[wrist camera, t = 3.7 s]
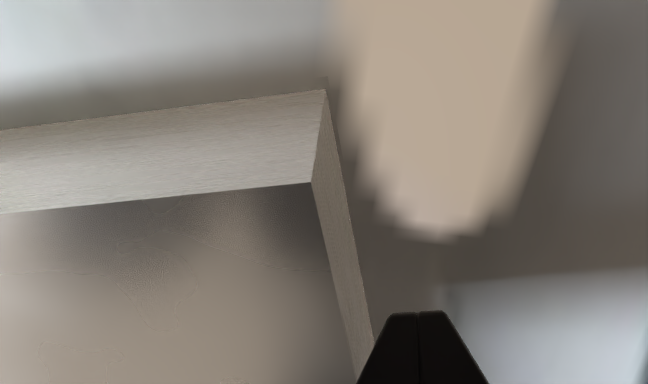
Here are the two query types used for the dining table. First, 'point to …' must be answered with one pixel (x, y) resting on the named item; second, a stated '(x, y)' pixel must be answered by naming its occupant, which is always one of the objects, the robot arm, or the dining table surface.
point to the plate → (181, 249)
